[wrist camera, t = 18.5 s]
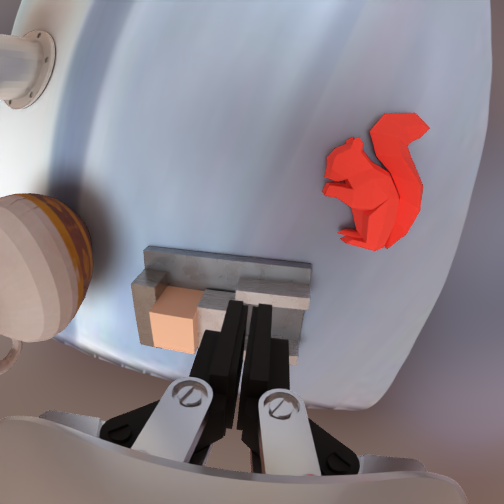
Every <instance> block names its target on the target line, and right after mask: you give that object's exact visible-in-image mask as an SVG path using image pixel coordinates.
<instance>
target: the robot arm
mask: <svg viewBox="0 0 504 504" xmlns="http://www.w3.org/2000/svg"><path fill="white" fill-rule="evenodd" d="M54 59H55V45H54V41H53V38H52V37H51V36H50V34H48V33H47V32H44V31H41V30H35V31H31V32H29V33H27V34H26V35H24V36H23V37H17V36H11V35H4V34H0V100H4V101H5V103H6V104H7V105H8V106H9V107H10V108H12V109H23V108H26V107H28V106H30V105H31V104H32V103H33V102H34V101H36V99H37V98H38V97H39V96H40V95H41V93H42V91H43V90H44V88H45V86H46V84H47V82H48V80H49V78H50V75H51V73H52V69H53V65H54ZM247 315H248V306H247V305H243V301H236V300H229V303H228V306H227V310H226V314H225V317H224V321H223V325H222V328H221V332H220V331H213V330H205V331H204V334H203V337H202V340H201V343H200V346H199V348H198V351H197V354H196V357H195V360H194V363H193V366H192V369H191V372H190V375H189V377H183V378H180V379H177V380H176V381H174V382H172V384H171V385H170V386H169V387H168V389H167V391H166V392H165V394H164V395H163V397H162V398H161V399H160V400H158V401H156V402H153V403H151V404H148V405H146V406H143V407H140V408H138V409H135V410H133V411H130V412H127V413H125V414H122V415H119V416H117V417H114V418H112V419H110V420H108V421H101V419H100V418H95V417H89V416H82V415H76V414H70V413H65V412H59V411H52V410H49V411H46V412H44V413H42V414H41V415H40V416H39V418H37V417H30V416H9V417H6V418H3V419H2V420H0V504H469V503H468V500H467V498H466V496H465V494H464V492H463V490H462V488H461V487H460V485H459V484H458V483H457V482H456V481H454V480H453V479H451V478H449V477H446V476H443V475H440V474H435V473H431V472H427V471H426V467H425V466H424V465H423V463H422V462H420V461H419V460H416V459H411V458H398V457H387V456H377V455H370V454H364V455H363V456H359V455H356V454H355V453H354V452H353V451H352V450H350V449H349V448H348V447H346V446H345V445H343V444H342V443H341V442H339V441H338V440H337V439H335V438H334V437H332V436H331V435H330V434H329V433H327V432H326V431H325V430H323V429H322V428H321V427H319V426H318V425H317V424H316V423H314V422H313V421H312V420H310V419H309V418H308V416H307V412H306V408H305V404H304V402H303V400H302V398H301V397H300V396H299V395H298V394H296V393H294V392H293V391H290V382H289V340H288V339H278V338H271V326H272V305H270V304H261V303H259V305H258V307H255V306H253V308H252V315H251V321H250V328H249V335H248V342H247V348H246V355H245V362H244V368H243V375H242V383H241V393H240V402H239V412H238V422H237V430H243V431H242V441H243V442H244V443H245V444H246V445H247V446H248V447H249V448H250V464H251V473H248V472H239V471H231V470H223V469H217V468H211V467H205V464H206V462H207V459H208V457H209V455H210V452H211V450H212V447H213V443H214V442H216V441H218V440H219V439H221V438H223V436H225V432H226V428H229V429H232V426H233V419H234V413H235V407H236V400H237V395H238V388H239V382H240V376H241V369H242V363H243V355H244V345H245V335H246V325H247Z"/></svg>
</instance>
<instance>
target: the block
mask: <svg viewBox="0 0 504 504" xmlns="http://www.w3.org/2000/svg"><path fill="white" fill-rule="evenodd" d="M203 293H204V291H201V290H193V289H186V288H179V287H172V286H167V288H166V289H165V290H164V292H163V293H162V295H161V296H160V297H159V299H158V300H157V302H156V303H155V304H154V306H153V307H152V309H151V310H150V311H149V314H150V322H151V329H152V335H153V342H154V346H155V347H160V348H165V349H170V350H175V351H180V352H185V353H191V354H195V352H196V349H197V347H198V328H197V306H198V304H199V302H200V300H201V298H202V295H203Z"/></svg>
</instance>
